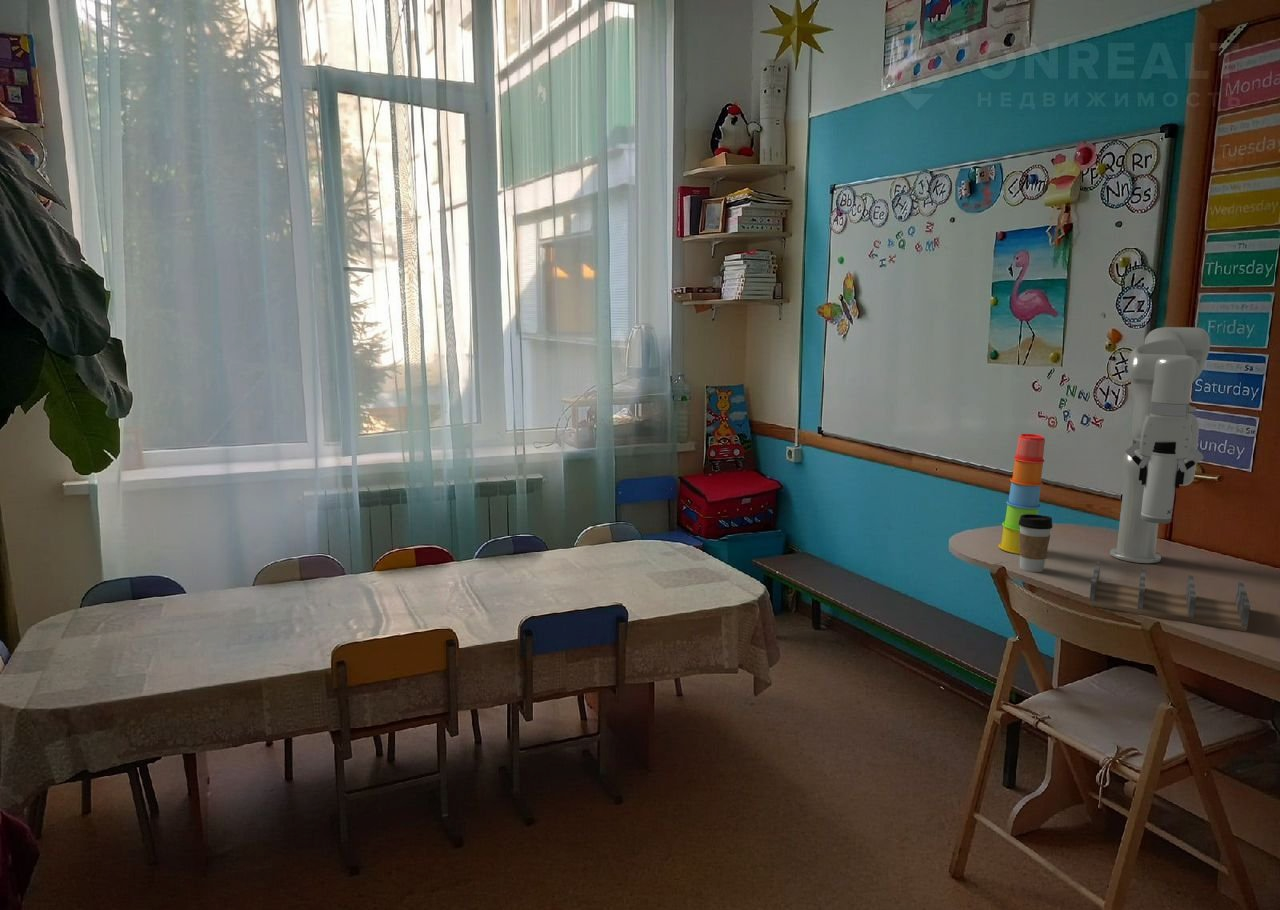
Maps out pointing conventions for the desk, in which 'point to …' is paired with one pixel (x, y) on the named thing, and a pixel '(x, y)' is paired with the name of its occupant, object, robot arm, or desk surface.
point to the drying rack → (1171, 603)
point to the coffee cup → (1034, 541)
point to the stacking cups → (1023, 488)
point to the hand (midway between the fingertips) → (1160, 485)
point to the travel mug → (1160, 484)
